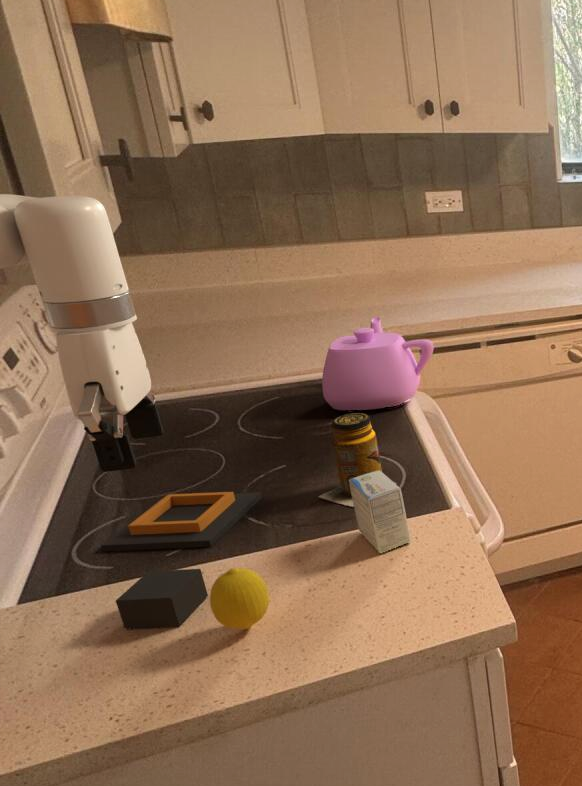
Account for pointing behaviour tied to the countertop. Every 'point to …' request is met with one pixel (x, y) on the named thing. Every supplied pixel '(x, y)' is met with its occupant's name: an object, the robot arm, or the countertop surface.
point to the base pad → (183, 521)
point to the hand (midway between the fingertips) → (134, 452)
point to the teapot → (372, 369)
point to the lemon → (239, 598)
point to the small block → (162, 599)
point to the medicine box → (379, 511)
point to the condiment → (352, 453)
